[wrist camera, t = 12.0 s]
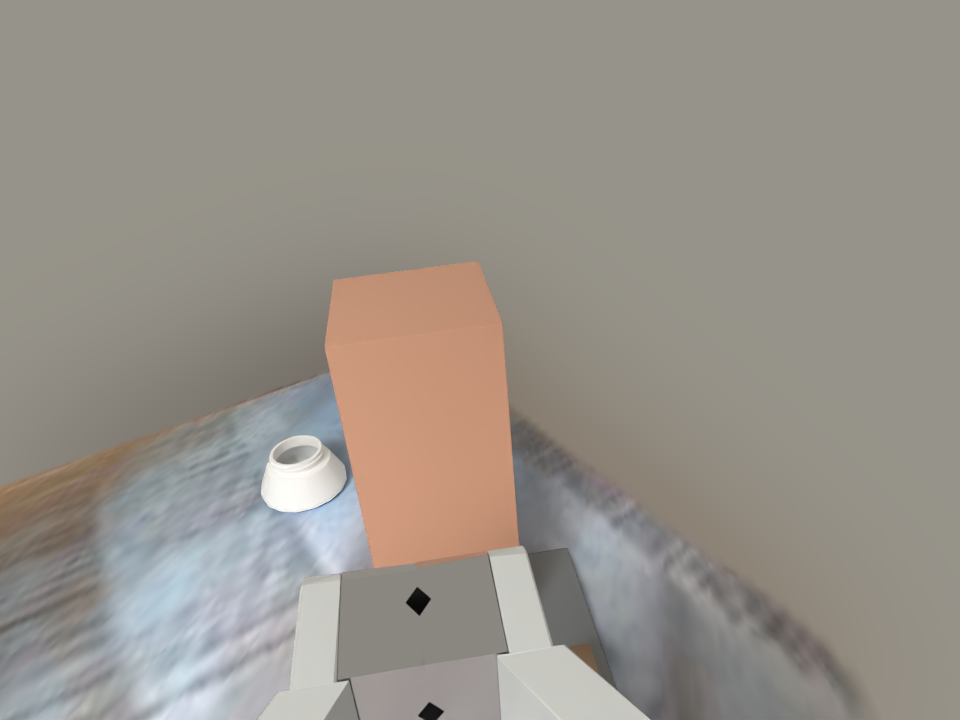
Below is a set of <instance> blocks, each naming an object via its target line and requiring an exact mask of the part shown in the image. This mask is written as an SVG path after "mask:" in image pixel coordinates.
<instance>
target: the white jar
mask: <svg viewBox="0 0 960 720" xmlns="http://www.w3.org/2000/svg"><path fill="white" fill-rule="evenodd" d="M346 480H347V476H346V469H345V465H344V464H343V463H342V462H341V461H340V460H339V459H338V458H337V457H336V456H335V455H334V454H333V453H332V452H331V451H330V450H329V449H328V448H327V447H326V446H325V445H323V444H322V443H321V441H320V440H319V439H318V438H316V437H314V436H309V435H299V436H294V437H290V438H288V439H285V440H283V441H281V442H280V443H278V444H277V445H276V446H275V447H274V448H273V449H272V451H271V453H270V456H269V462H268V463H267V466H266V469H265V473H264V476H263V480H262V485H261V495H262V498H263V500H264V501H265V502H266V504H267V505H268V506H269V507H271V508H273V509H276V510H278V511H280V512H301V511H305V510H309V509H314V508H316V507H318V506H320V505H322V504H324V503H326V502H328V501H330V500H331V499H332V498H334V497H335V496H336V495H337V494H338V493H339V492H340V491H341V490H342V488H343V486H344V484H345V482H346Z"/></svg>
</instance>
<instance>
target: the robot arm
mask: <svg viewBox="0 0 960 720" xmlns="http://www.w3.org/2000/svg"><path fill="white" fill-rule="evenodd" d="M257 720H651V719H650V718H648V717H647V716H646V715H645V714H644V713H643V712H642V711H640V710H639V709H638V708H637V707H636V706H635V705H633V704H632V703H631V702H630V701H629V700H628V699H627V698H625V697H624V696H623V695H622V694H621V693H620V692H619V691H617V690H616V689H615V688H614V687H613V686H612V685H611V684H609V683H608V682H607V681H606V680H605V679H604V678H602V677H601V676H600V675H599V674H598V673H597V672H596V671H594V670H593V669H592V668H591V667H590V666H589V665H588V664H586V663H585V662H584V661H583V660H582V659H581V658H580V657H578V656H577V655H576V654H575V653H574V652H573V651H571V650H570V649H569V648H568V647H567V646H566V645H557V646H553V643H552V639H551V636H550V632H549V629H548V625H547V622H546V618H545V615H544V611H543V607H542V604H541V600H540V597H539V593H538V590H537V586H536V583H535V579H534V575H533V572H532V568H531V565H530V561H529V558H528V554H527V551H526V549H525V548H524V547H523V546H516V547H510V548H503V549H497V550H491V551H487V553H486V551H483V552H477V553H471V554H465V555H458V556H452V557H446V558H440V559H434V560H428V561H421V562H416V563H414V564H406V565H398V566H390V567H382V568H374V569H366V570H358V571H350V572H343V573H339V574H331V575H323V576H315V577H307V578H304V581H303V583H302V586H301V588H300V597H299V606H298V615H297V624H296V633H295V643H294V652H293V661H292V670H291V679H290V688H289V690H286V691H280V692H277V693H276V695H275V696H274V697H273V699H272V700H271V701H270V703H269V704H268V705H267V707H266V708H265V709H264V711H263V712H262V713H261V715H260V716H259V717H258V719H257Z"/></svg>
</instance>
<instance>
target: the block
mask: <svg viewBox="0 0 960 720" xmlns="http://www.w3.org/2000/svg"><path fill="white" fill-rule="evenodd" d="M325 352H326V356H327V360H328V364H329V369H330V374H331V378H332V383H333V387H334V392H335V396H336V401H337V405H338V409H339V414H340V418H341V423H342V427H343V432H344V436H345V441H346V445H347V450H348V454H349V458H350V463H351V467H352V472H353V476H354V481H355V485H356V490H357V494H358V498H359V503H360V507H361V512H362V516H363V521H364V525H365V530H366V534H367V539H368V543H369V547H370V552H371V556H372V561H373V565H374V568H382V567H390V566H398V565H406V564H414V563H416V562H421V561H428V560H434V559H440V558H446V557H452V556H458V555H465V554H471V553H477V552H483V551H486V553H487V551H491V550H497V549H503V548H510V547H516V546H519V536H518V523H517V510H516V497H515V483H514V470H513V457H512V444H511V430H510V417H509V404H508V391H507V379H506V378H507V377H506V365H505V351H504V339H503V325H502V320H501V318H500V315H499V313H498V311H497V308H496V305H495V303H494V301H493V298H492V295H491V293H490V290H489V288H488V285H487V283H486V280H485V278H484V275H483V273H482V270H481V268H480V265H479V263H478V261H476V262H468V263H460V264H452V265H445V266H438V267H429V268H423V269H415V270H407V271H399V272H391V273H384V274H377V275H369V276H361V277H354V278H346V279H338V280H333V287H332V295H331V302H330V310H329V317H328V325H327V332H326V340H325Z"/></svg>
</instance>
